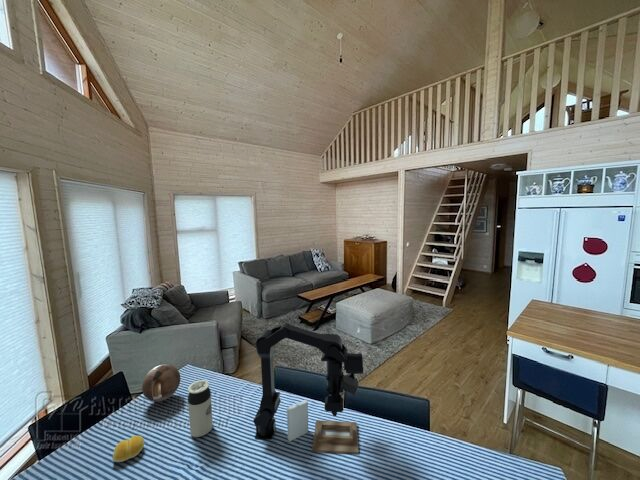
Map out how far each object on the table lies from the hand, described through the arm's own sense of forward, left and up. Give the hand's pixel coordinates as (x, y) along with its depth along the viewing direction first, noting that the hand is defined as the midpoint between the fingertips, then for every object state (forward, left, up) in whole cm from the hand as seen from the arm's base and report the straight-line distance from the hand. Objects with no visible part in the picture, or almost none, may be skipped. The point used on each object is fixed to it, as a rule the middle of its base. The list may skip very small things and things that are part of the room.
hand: (335, 411), depth 96 cm
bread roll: (-72, -8, -11) cm, 73 cm away
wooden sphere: (-80, +16, -11) cm, 82 cm away
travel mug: (-52, 0, -11) cm, 53 cm away
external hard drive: (-14, 0, -11) cm, 18 cm away
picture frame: (0, 0, -10) cm, 10 cm away
